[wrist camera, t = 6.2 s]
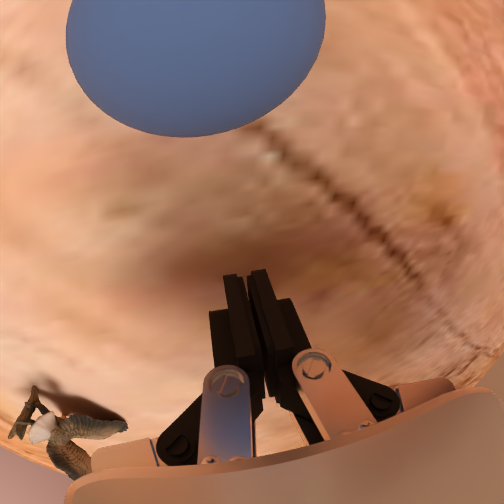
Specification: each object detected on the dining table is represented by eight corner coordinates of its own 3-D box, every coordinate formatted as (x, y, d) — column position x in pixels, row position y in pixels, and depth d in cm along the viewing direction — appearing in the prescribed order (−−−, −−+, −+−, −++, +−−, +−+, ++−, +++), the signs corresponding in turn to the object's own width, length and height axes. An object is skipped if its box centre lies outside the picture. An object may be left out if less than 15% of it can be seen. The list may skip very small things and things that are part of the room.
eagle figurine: (17, 414, 16) (99, 465, 18) (-3, 458, 9) (103, 516, 12) (50, 357, 18) (137, 416, 21) (28, 394, 11) (149, 465, 14)
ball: (417, -25, 2) (329, 162, 8) (295, -104, 2) (286, 28, 8) (-37, 78, 2) (119, 194, 8) (71, -59, 2) (130, 55, 8)
